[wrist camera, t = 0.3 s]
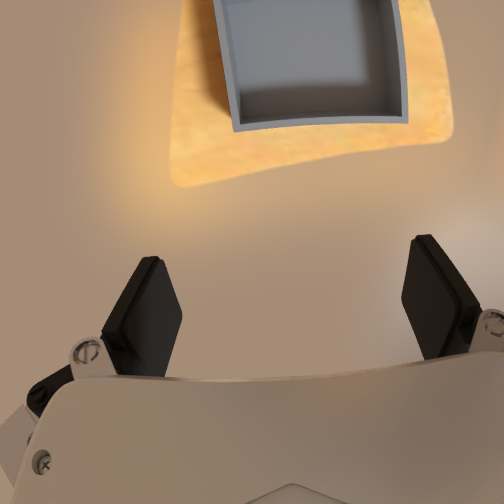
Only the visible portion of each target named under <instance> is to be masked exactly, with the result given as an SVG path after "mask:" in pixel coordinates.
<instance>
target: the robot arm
mask: <svg viewBox="0 0 504 504" xmlns="http://www.w3.org/2000/svg"><path fill="white" fill-rule="evenodd" d="M401 299H402V304H403V307H404V309H405V311H406V314H407V316H408V319H409V321H410V324H411V326H412V329H413V331H414V334H415V336H416V339H417V341H418V344H419V346H420V349H421V352H422V355H423V357H424V361H418V362H412V363H406V364H400V365H394V366H387V367H381V368H373V369H366V370H358V371H349V372H340V373H331V374H319V375H307V376H291V377H272V378H232V379H229V378H226V379H225V378H224V379H223V378H222V379H218V378H217V379H216V378H214V379H213V378H177V377H165V373H166V370H167V366H168V363H169V360H170V357H171V353H172V350H173V347H174V344H175V340H176V337H177V334H178V331H179V327H180V324H181V321H182V311H181V308H180V305H179V303H178V300H177V297H176V294H175V292H174V289H173V286H172V283H171V280H170V277H169V274H168V272H167V268H166V266H165V263H164V261H163V260H162V259H159V257H158V256H151V257H143V258H142V259H141V261H140V263H139V264H138V266H137V268H136V270H135V271H134V273H133V275H132V276H131V278H130V280H129V282H128V283H127V285H126V287H125V289H124V290H123V292H122V294H121V296H120V297H119V299H118V301H117V303H116V305H115V306H114V308H113V310H112V312H111V314H110V316H109V318H108V319H107V321H106V323H105V325H104V327H103V329H102V331H101V332H102V335H101V337H100V338H98V337H87V338H85V339H82V340H81V341H79V342H78V343H77V344H76V345H75V346H74V347H73V348H72V350H71V352H70V355H69V361H70V364H69V365H67V366H65V367H64V368H62V369H60V370H59V371H57V372H55V373H54V374H52V375H50V376H49V377H47V378H45V379H43V380H42V381H40V382H38V383H37V384H35V385H34V386H33V387H32V388H31V390H30V391H29V393H28V395H27V405H26V406H24V405H23V404H22V405H21V406H20V407H19V408H18V409H17V410H16V411H15V412H14V413H13V414H12V415H11V416H10V417H9V418H8V419H7V420H6V421H5V422H4V423H3V424H2V425H1V426H0V464H1V466H2V468H3V470H4V472H5V473H6V475H7V477H8V479H9V480H10V482H11V484H12V485H13V487H14V491H13V495H12V499H11V503H10V504H504V312H502V311H500V310H496V309H487V310H484V311H482V309H481V307H480V303H479V302H478V300H477V298H476V297H475V295H474V294H473V292H472V291H471V289H470V288H469V286H468V285H467V283H466V282H465V280H464V279H463V277H462V276H461V274H460V273H459V272H458V270H457V269H456V267H455V266H454V264H453V263H452V262H451V260H450V259H449V257H448V256H447V255H446V253H445V252H444V251H443V249H442V248H441V247H440V245H439V244H438V243H437V242H436V240H435V239H434V238H433V237H432V235H431V234H426V235H417V236H416V238H415V239H413V240H412V241H411V246H410V252H409V258H408V264H407V269H406V275H405V280H404V285H403V291H402V296H401Z"/></svg>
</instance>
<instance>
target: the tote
mask: <svg viewBox="0 0 504 504" xmlns="http://www.w3.org/2000/svg"><path fill="white" fill-rule="evenodd" d="M213 4H214V10H215V17H216V23H217V29H218V36H219V42H220V48H221V55H222V61H223V67H224V74H225V80H226V86H227V93H228V99H229V105H230V112H231V118H232V124H233V131H234V132H242V131H250V130H259V129H268V128H278V127H290V126H303V125H320V124H344V123H404V124H408V91H407V73H406V60H405V50H404V40H403V32H402V24H401V17H400V11H399V5H398V0H213Z"/></svg>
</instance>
